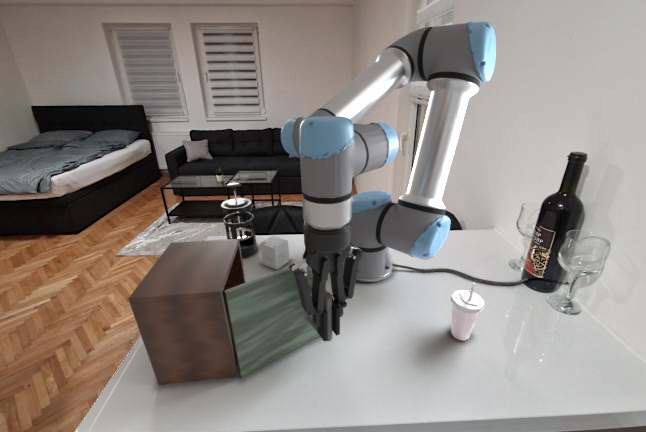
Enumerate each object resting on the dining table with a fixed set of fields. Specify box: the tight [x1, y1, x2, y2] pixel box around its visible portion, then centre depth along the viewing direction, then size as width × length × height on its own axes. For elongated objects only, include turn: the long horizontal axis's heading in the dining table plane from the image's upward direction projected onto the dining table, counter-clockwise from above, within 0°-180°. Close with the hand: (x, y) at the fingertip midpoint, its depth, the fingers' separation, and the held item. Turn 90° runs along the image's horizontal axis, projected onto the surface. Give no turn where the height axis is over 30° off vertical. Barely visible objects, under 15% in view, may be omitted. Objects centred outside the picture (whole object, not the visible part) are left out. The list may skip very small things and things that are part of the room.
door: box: [225, 265, 334, 379], centre depth 55 cm, size 8×18×20 cm, turn 126°
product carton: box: [259, 235, 291, 271], centre depth 91 cm, size 6×6×7 cm
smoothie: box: [450, 282, 485, 342], centre depth 64 cm, size 6×6×14 cm
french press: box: [220, 182, 259, 259], centre depth 95 cm, size 12×9×23 cm
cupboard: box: [127, 239, 247, 386], centre depth 60 cm, size 14×18×20 cm
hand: (328, 332), depth 57 cm, fingers closed on door, 2 cm apart
